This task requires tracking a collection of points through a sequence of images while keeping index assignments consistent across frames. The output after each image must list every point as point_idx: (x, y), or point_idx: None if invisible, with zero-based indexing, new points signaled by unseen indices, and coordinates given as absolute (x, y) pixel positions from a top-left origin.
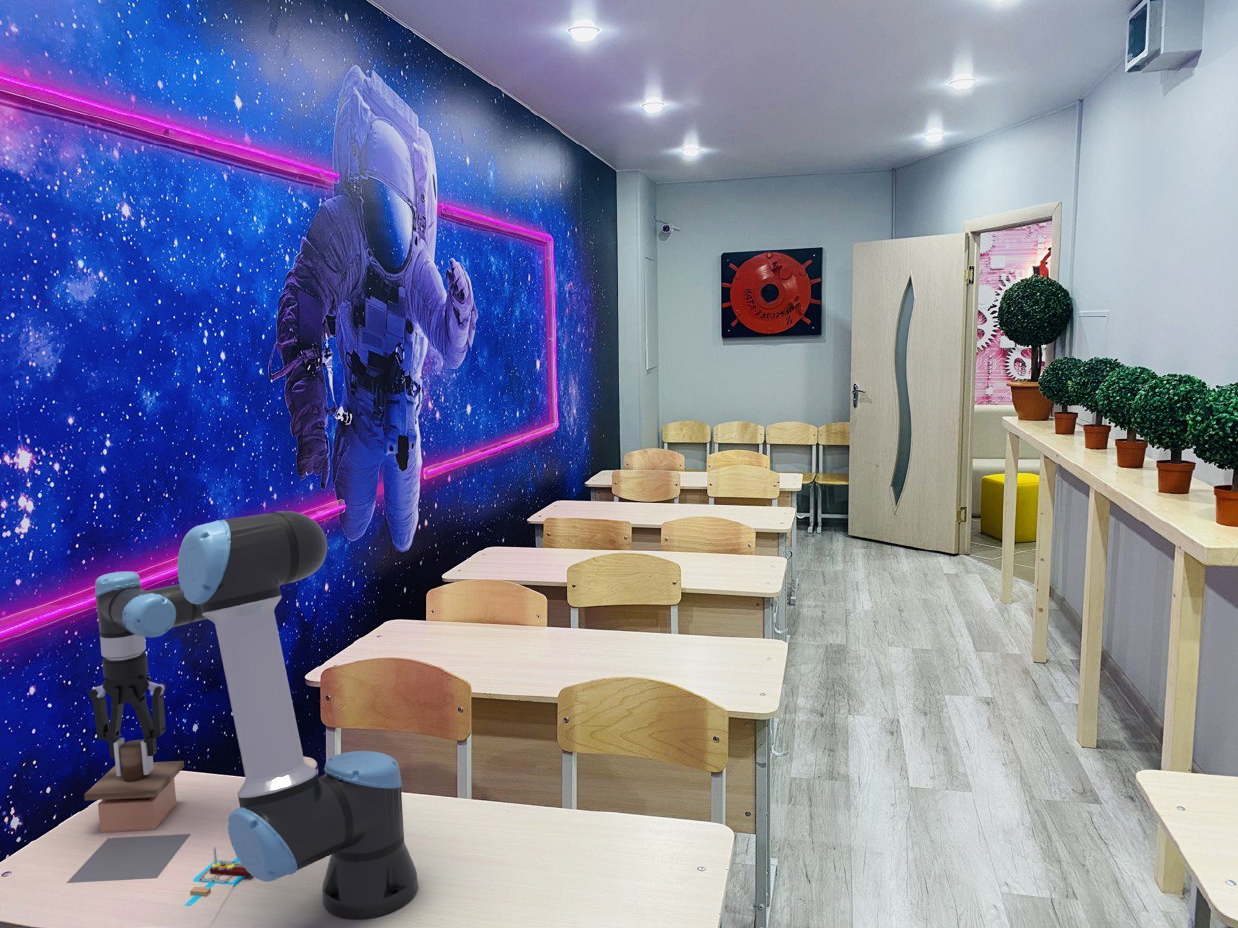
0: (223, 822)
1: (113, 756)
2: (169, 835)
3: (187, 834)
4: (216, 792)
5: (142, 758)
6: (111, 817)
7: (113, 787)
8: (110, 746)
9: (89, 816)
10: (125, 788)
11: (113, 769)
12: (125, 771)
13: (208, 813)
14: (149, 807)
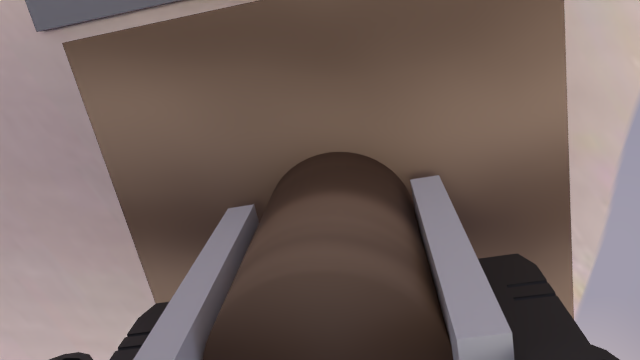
0: (4, 148)
1: (499, 263)
2: (116, 10)
3: (45, 24)
4: None
5: (221, 263)
6: None
7: (397, 67)
8: (558, 323)
9: (590, 159)
10: (298, 57)
11: None
12: (355, 176)
13: (110, 210)
14: None
